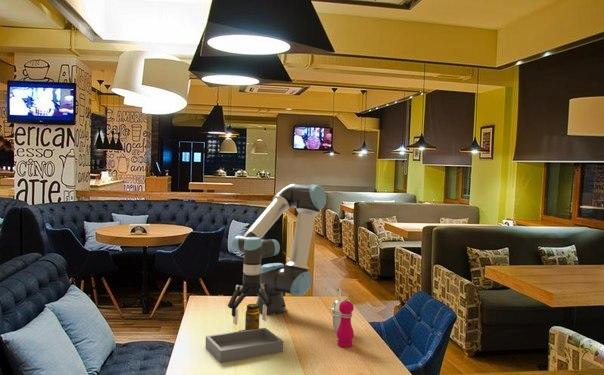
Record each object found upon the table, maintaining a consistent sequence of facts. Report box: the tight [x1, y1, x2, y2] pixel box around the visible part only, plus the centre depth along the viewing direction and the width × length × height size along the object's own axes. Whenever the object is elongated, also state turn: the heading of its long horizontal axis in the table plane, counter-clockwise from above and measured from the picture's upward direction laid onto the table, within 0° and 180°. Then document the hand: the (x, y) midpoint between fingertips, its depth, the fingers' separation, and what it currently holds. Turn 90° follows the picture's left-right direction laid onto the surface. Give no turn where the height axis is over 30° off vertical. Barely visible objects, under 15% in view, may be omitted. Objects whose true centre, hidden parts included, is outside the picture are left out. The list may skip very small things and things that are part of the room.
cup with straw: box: [329, 287, 344, 333], centre depth 232 cm, size 8×9×20 cm
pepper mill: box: [336, 296, 355, 349], centre depth 215 cm, size 7×7×20 cm
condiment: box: [238, 303, 261, 331], centre depth 226 cm, size 7×8×12 cm
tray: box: [205, 327, 284, 364], centre depth 206 cm, size 26×17×4 cm, turn 119°
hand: (249, 322), depth 226 cm, fingers open, 13 cm apart
